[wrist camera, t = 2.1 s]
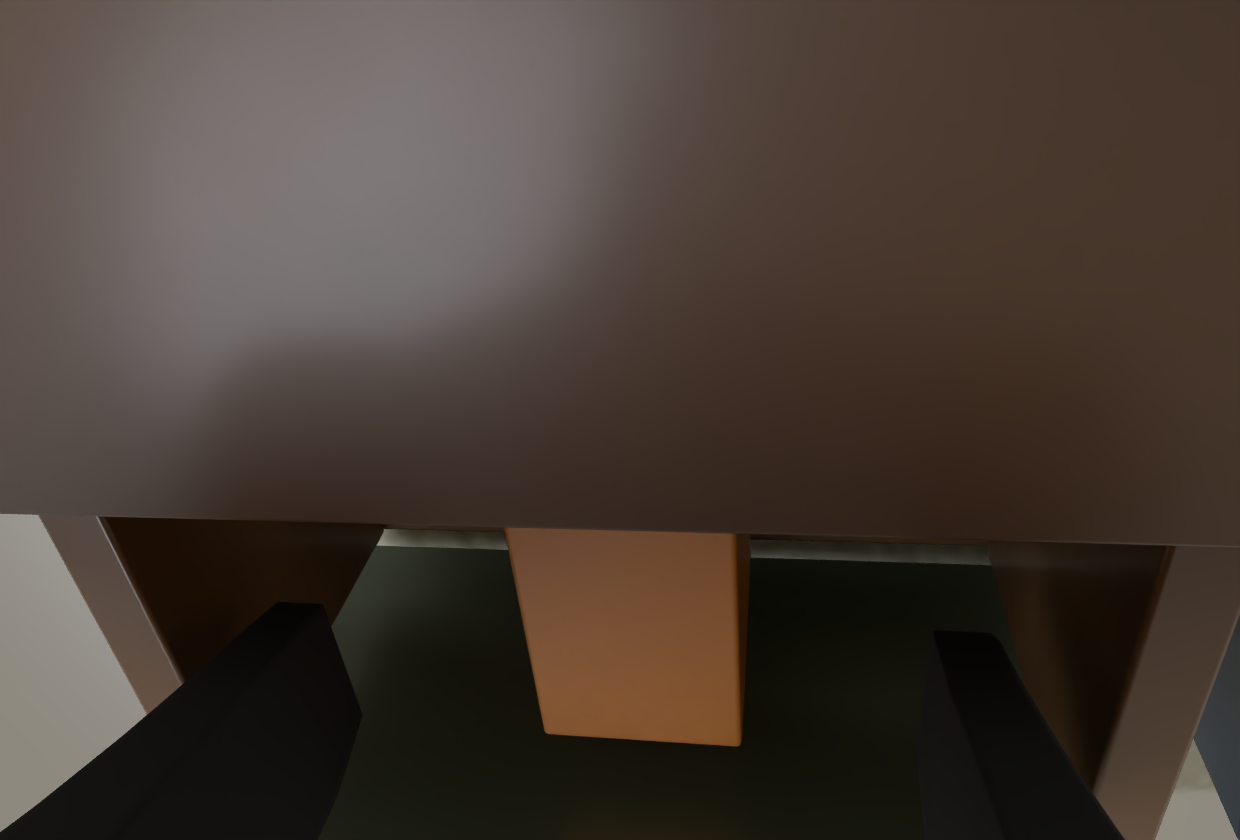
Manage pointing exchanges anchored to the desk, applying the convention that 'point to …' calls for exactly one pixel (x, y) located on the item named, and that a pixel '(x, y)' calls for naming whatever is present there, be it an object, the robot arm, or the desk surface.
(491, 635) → the drawer
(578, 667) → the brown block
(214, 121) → the cabinet
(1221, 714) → the open box
